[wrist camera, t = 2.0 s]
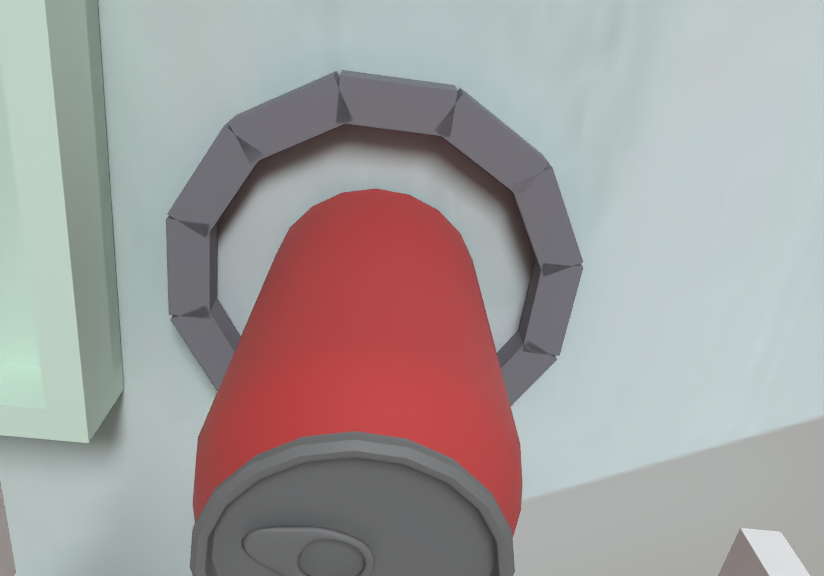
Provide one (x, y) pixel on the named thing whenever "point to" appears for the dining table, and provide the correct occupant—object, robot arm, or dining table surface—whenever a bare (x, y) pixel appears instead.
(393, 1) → the dining table surface
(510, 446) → the beer can
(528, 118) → the dining table surface
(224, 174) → the socket ring
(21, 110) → the bin
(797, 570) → the robot arm
